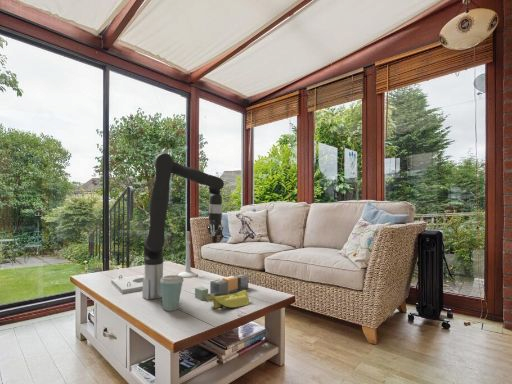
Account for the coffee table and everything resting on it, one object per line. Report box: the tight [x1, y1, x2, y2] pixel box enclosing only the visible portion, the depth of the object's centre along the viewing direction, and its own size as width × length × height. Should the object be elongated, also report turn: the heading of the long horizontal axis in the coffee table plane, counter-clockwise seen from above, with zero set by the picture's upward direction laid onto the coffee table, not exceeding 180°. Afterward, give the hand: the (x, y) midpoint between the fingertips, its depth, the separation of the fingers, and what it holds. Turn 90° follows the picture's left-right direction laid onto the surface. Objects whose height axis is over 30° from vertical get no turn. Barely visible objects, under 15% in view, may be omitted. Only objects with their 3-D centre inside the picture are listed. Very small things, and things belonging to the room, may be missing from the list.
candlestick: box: [177, 231, 198, 279], centre depth 199 cm, size 13×13×30 cm
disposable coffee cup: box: [160, 274, 184, 312], centre depth 138 cm, size 11×11×15 cm
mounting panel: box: [110, 273, 167, 295], centre depth 179 cm, size 27×5×30 cm
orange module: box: [221, 275, 238, 291], centre depth 164 cm, size 7×5×6 cm
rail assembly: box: [208, 273, 249, 296], centre depth 163 cm, size 26×7×7 cm, turn 138°
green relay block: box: [194, 286, 209, 301], centre depth 152 cm, size 4×6×5 cm, turn 44°
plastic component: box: [205, 289, 250, 309], centre depth 142 cm, size 20×7×10 cm
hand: (214, 242), depth 170 cm, fingers closed
